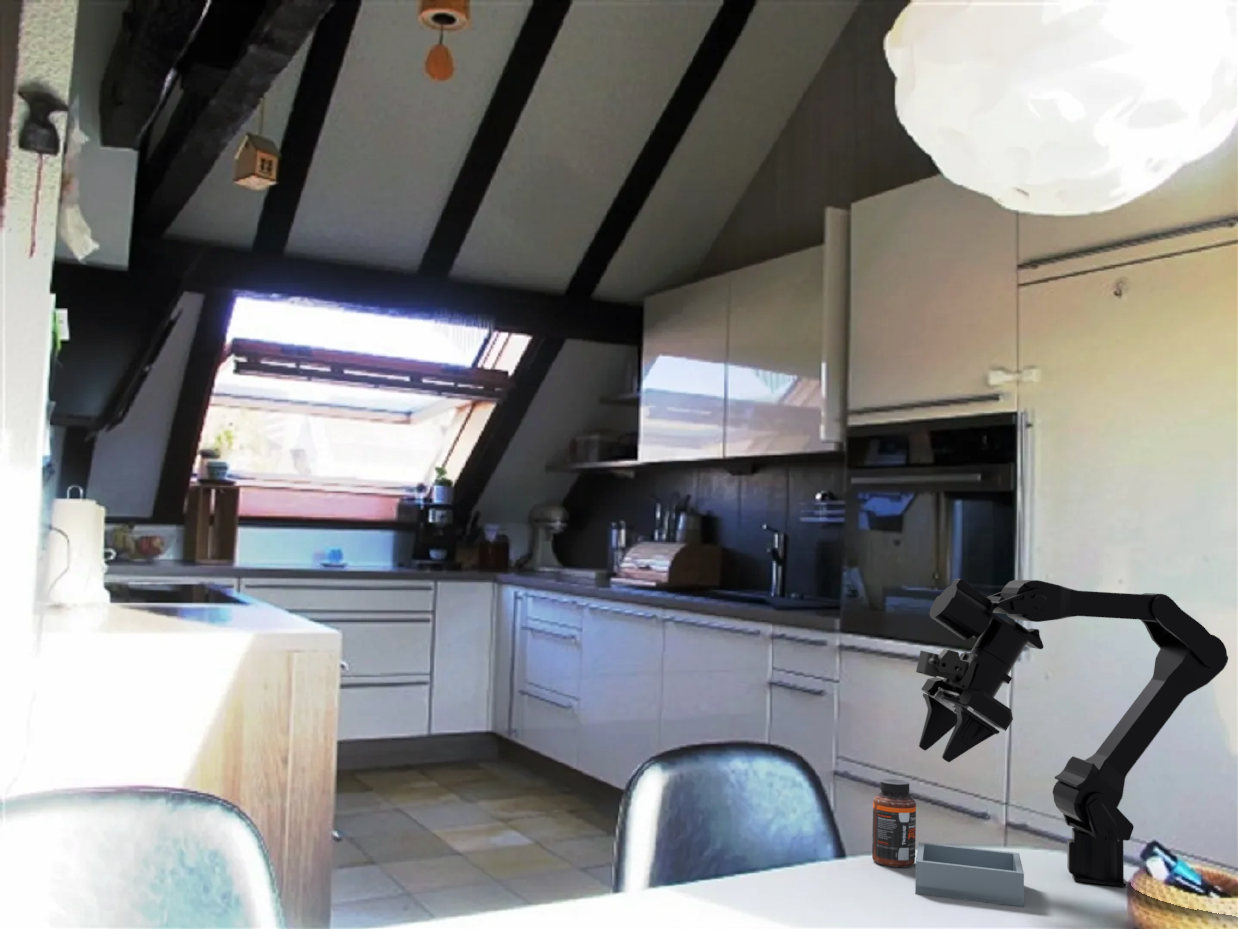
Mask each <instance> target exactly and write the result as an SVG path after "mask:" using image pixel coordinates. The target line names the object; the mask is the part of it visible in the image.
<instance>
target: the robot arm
mask: <svg viewBox="0 0 1238 929" xmlns="http://www.w3.org/2000/svg"><path fill="white" fill-rule="evenodd" d="M994 613H995V614H994ZM996 614H1005V615H1006V616H1007V617H1008V618H1009V619H1007V620H1004V619H1002V618H1001V617H999V616H997V615H996ZM929 617H930V618H931V619H932V620H934V621H936V622H937V623H939V624H940V625H942V626H943V627H944V628H946V629H947V630H949V631H951V632H952V633H953V634H955V635H956V636H957V637H959V638H961V639H962V640H963V641H965V640H969V639H970V638H973V639H977V638H978V639H977V640H976V642H975V644H974V645H973V647H972V649H971V650H970V652H967V651H964V652H962V653H961V654H960V653H959V651H955V650H951V649H947V648H943V649H942V651H940V652H939V654H938V653H934V652H929V651H926V650H920V651H919V656H918V660H917V667H916V670H915V672H916V673H919V674H922V675H925V676H929V677H930V678H927V679H926V681H925V683H924V684H923V686H922V687H921V689H920V690H921V692H924V693H922V697H923V699H924V701H925V705H926V707H927V714H926V717H925V722H924V725H923V728H922V729H923V730H922V732H921V736H920V740H919V744H918V747H919V748H920V749H921V750H922V751H924V752H925V751H928V749H930V748H932V746H934V745H935V744H936V743H937V742H939V741H940V740H941V738H943V737H945V735H947V734H948V733H949V732H950V731H951V730H952V729H953V730H952V732H951V734H950V737H949V739H948V741H947V743H946V745H945V748H944V751H943V754H942V755H941V757H942V758H941V759H943V760H944V761H946V762H947V763H951V762H953V761H954V760H955V759H957V758H959V757H960V756H962V755H963V754H965V753H966V752H968V751H970V749H973V748H974V747H976V746H977V745H979V744H981V743H982V742H984V741H986V740H987V739H989V738H991V737H992V736H993V737H994V736H995V735H999V733H1000V732H1001V731H1000V730H1002V731H1004V732H1006V731H1007V730H1008V728H1009V727H1010V725H1011V724H1012V722H1013V720H1014V717H1013V713H1012V709H1011V707H1010V708H1009V707H1008V706H1007V705H1006V704H1004V703H1003V702H1001V701H1000V700H998V699H997V698H995V697H996V695H997V693H998V692H999V691H1000V688H1001V687H1002V686H1003V684H1006V685H1009V684H1010V683H1011V681H1012V680H1013V677H1012V676H1010V675H1009V674H1010V672H1011V671H1012V669H1013V667H1014V665H1015V664H1016V662H1017V661H1018V659H1019V657H1020V656H1021V654H1022V653H1023V651H1024V650H1025V648H1026V646H1027V647H1028V648H1031V649H1037V650H1043V649H1044V644H1043V641H1042V638H1041V635H1040V634H1041V633H1040V630H1039V629H1038V628H1032V627H1031V628H1029V629H1028V628H1026V627H1025V626H1023V625H1022V624H1020V623H1019V622H1017V621H1025V622H1031V623H1032V622H1034V623H1040V622H1048V621H1057V620H1063V619H1066V618H1067V619H1069V618H1073V617H1086V618H1087V617H1088V618H1105V619H1107V618H1108V619H1124V620H1125V619H1126V620H1140V621H1141V623H1143V625H1144V626H1145V629H1146V630H1147V633H1148V634H1149V637H1150V638H1151V640H1152V641H1153V642H1154V643H1155V645H1156V646H1157V647H1158V648H1159V651H1158V653H1157V655H1156V657H1155V661H1154V668H1153V674H1152V677H1151V678H1150V680H1149V682H1148V683H1147V684H1146V685H1145V687H1144V688H1143V689H1142V691H1141V692H1140V694H1139V695H1138V696H1137V698H1136V699H1135V700H1134V701H1133V703H1132V704H1131V706H1130V707H1129V708H1128V709H1127V710H1126V712H1125V713H1124V714H1123V715H1122V717H1121V718H1120V719H1119V721H1118V723H1116V725H1114V726H1115V727H1114V728H1113V729H1112V730H1111V731H1110V733H1109V734H1108V736H1107V737H1106V738H1105V739H1104V740H1103V742H1102V744H1101V745H1100V746H1099V747H1098V749H1097V750H1096V751H1095V753H1094V754H1092V755H1091V756H1089V757H1088V758H1085V759H1082V758H1080V757H1076V756H1071V757H1070V758H1069V759H1068V761H1067V763H1066V765H1065V766H1064V768H1063V770H1062V771H1061V772H1060V773H1058V774H1057V775H1055V776H1054V780H1057V781H1055V784H1054V786H1053V788H1052V795H1053V796H1052V797H1053V801H1054V802H1053V803H1054V804H1055V806H1056V808H1057V809H1058V810H1059V812H1061V814H1062V816H1063V817H1064V818H1063V819H1064V821H1065V823H1066V824H1065V825H1067V827H1068V826H1069V827H1071V838H1068V839H1067V840H1066V842H1067V847H1066V848H1067V849H1066V850H1067V852H1066V853H1067V854H1066V855H1067V856H1066V857H1067V859H1066V860H1067V865H1066V866H1067V870H1068V873H1069V874H1071V876H1072V879H1073V881H1075V882H1079V883H1081V882H1082V883H1087V884H1088V883H1089V884H1097V885H1106V886H1107V885H1108V886H1114V887H1125V888H1126V887H1127V882H1126V881H1125V877H1124V876H1125V874H1124V871H1125V870H1124V869H1125V867H1124V866H1125V865H1124V864H1125V863H1124V856H1125V855H1124V847H1125V846H1124V841H1130V840H1131V837H1132V835H1133V831H1134V824H1133V823H1132V822H1131V821H1130V820H1129V819H1128V818H1127V817H1126V815H1125V814H1123V813H1122V811H1121V810H1120V809H1119V808H1118V807H1119V805H1120V803H1121V801H1122V799H1123V796H1124V790H1125V785H1126V784H1125V783H1126V778H1127V776H1128V774H1129V773H1130V771H1131V770H1132V769H1133V767H1134V766H1135V765H1136V763H1137V762H1138V761H1139V759H1140V758H1141V756H1143V754H1144V752H1146V750H1147V749H1148V747H1149V746H1150V744H1151V743H1152V742H1153V740H1154V739H1155V738H1156V737H1157V735H1158V734H1159V732H1160V731H1161V730H1162V729H1163V727H1164V726H1165V724H1166V723H1167V722H1168V721H1169V719H1170V718H1171V717H1172V715H1173V714H1174V712H1175V711H1176V710H1177V709H1178V708H1179V706H1180V704H1181V703H1183V701H1184V699H1185V698H1186V697H1187V696H1189V695H1191V694H1193V693H1194V692H1196V691H1197V690H1199V689H1202V688H1203V687H1205V686H1207V685H1208V684H1210V683H1211V681H1212V680H1214V679H1215V678H1216V677H1217V676H1218V675H1220V673H1221V672H1222V671H1223V670H1224V669H1225V668H1226V666H1227V664H1228V660H1229V656H1228V654H1227V653H1228V652H1227V648H1226V645H1225V643H1224V642H1223V641H1222V640H1221V639H1220V638H1219V637H1218V636H1216V635H1215V634H1211V633H1210V632H1209V630H1208V629H1207V628H1206V627H1204V625H1202V623H1200V622H1198V621H1197V620H1196V619H1194V618H1193V617H1192V616H1191V615H1190V614H1188V613H1187V612H1185V610H1183V609H1181V607H1179V605H1178V604H1177V603H1176V602H1175V600H1173V599H1172V598H1171V597H1170V596H1169V595H1167V594H1164V593H1156V592H1155V593H1153V592H1152V593H1151V592H1150V593H1148V592H1145V593H1126V592H1125V593H1123V592H1110V591H1109V592H1107V591H1105V592H1104V591H1091V590H1089V591H1087V590H1078V589H1073V588H1069V587H1065V586H1063V585H1059V584H1055V583H1052V582H1047V581H1043V580H1040V579H1039V580H1038V579H1037V580H1036V579H1031V580H1030V579H1015V580H1010V581H1008V582H1007V583H1006V584H1005V586H1004V587H1003V588H1002V589H1001V591H1000V592H997V593H994V594H992V595H988V596H985V594H983V593H981V592H979V591H978V590H977V589H975V588H974V587H973V586H971V584H969V582H967V581H966V580H964V579H962V578H955V579H954V580H953V582H952V583H951V584H950V585H949V586H947V587H946V588H945V589H944V590H943V591H942V592H941V593H940V594H939V595H937V597H936V598H935V599H934V601H933V602H932V605H931V607H930V610H929ZM1016 620H1017V621H1016Z"/></svg>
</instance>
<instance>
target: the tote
mask: <svg viewBox="0 0 1238 929" xmlns="http://www.w3.org/2000/svg"><path fill="white" fill-rule="evenodd" d="M1023 867H1024V866H1023V864H1022V859H1021V854H1020V852H1013V851H1011V852H1010V851H1001V850H994V849H985V848H984V849H983V848H976V847H967V846H959V845H958V846H957V845H947V844H939V843H930V842H922V841H921V842H920V841H918V844H917V852H916V856H915V883H914V884H915V891H914V892H915V894H917V895H924V896H925V895H926V896H933V897H940V898H949V899H950V898H951V899H958V900H966V901H973V902H974V901H975V902H982V903H990V904H997V905H998V904H999V905H1005V906H1014V907H1023V908H1024V907H1025V905H1024V904H1025V902H1024V900H1025V872H1024V868H1023Z"/></svg>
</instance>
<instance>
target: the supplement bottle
mask: <svg viewBox="0 0 1238 929" xmlns="http://www.w3.org/2000/svg"><path fill="white" fill-rule="evenodd" d="M879 786H880V787H879V789H880V791H881V792H880V793H878V794H877V795H875V796H874V798H873V799H872V800H873V803H872V835H871V837H872V839H871V840H872V841H871V842H872V843H871V845H872V846H871V847H872V848H871V857H872V860H873V861H874V862H876V863H877V864H879V865H881V866H886V867H892V868H908V867H909V868H910V867H912V866H914V864H916V841H917V840H916V836H917V835H916V830H917V828H916V827H917V826H916V825H917V802H916V800H915V799H914V798H913V797H912V796H911V794H910V793H909V792H910V782H909V781H907V780H903V779H893V778H884V779H881V780H880V785H879Z"/></svg>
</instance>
